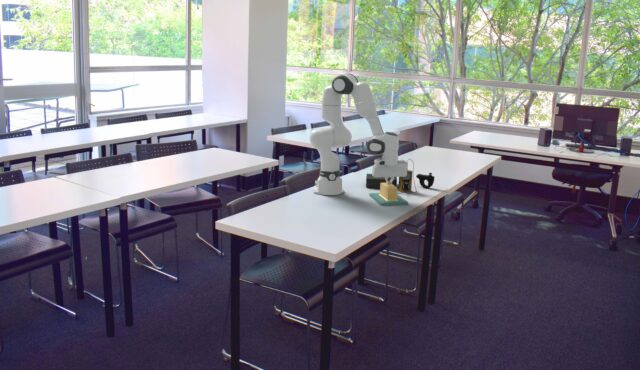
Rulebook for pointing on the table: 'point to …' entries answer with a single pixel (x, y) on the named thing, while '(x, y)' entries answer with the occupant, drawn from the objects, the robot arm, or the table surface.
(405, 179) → the multimeter
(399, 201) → the board
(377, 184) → the black block with post
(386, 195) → the block
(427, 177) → the controller
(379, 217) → the table surface
